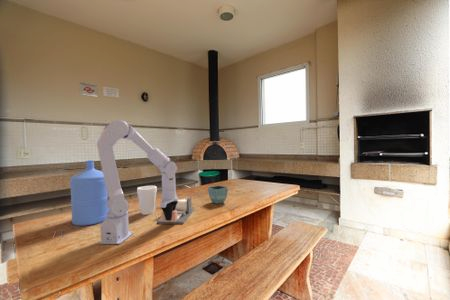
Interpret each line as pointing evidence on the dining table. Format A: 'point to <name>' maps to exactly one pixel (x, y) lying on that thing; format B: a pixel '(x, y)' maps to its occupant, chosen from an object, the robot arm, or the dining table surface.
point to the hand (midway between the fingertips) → (169, 218)
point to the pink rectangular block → (174, 216)
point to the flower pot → (217, 194)
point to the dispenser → (181, 211)
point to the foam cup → (147, 199)
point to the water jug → (88, 196)
